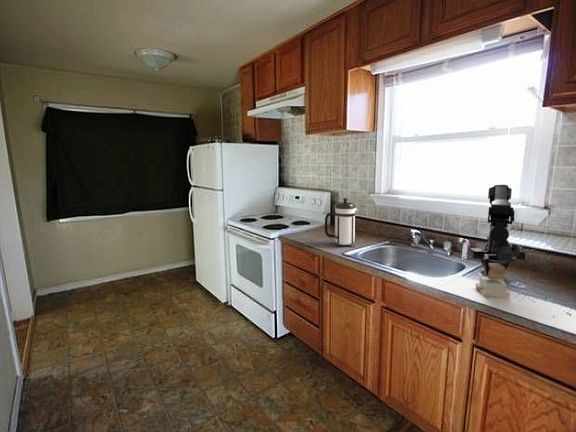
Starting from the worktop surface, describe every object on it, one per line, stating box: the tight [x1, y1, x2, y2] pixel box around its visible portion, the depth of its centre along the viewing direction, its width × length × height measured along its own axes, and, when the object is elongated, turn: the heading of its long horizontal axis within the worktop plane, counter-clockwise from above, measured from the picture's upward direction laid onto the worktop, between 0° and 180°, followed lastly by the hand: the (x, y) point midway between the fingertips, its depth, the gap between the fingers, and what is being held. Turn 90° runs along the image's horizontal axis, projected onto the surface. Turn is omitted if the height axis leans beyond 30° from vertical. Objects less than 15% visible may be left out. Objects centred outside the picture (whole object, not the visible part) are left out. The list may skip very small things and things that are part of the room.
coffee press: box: [324, 197, 359, 248], centre depth 198 cm, size 17×16×30 cm
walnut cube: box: [483, 263, 506, 281], centre depth 125 cm, size 5×5×5 cm
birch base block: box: [475, 282, 510, 300], centre depth 127 cm, size 8×8×3 cm
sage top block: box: [478, 276, 508, 292], centre depth 126 cm, size 7×7×3 cm
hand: (493, 274), depth 125 cm, fingers closed on walnut cube, 5 cm apart
